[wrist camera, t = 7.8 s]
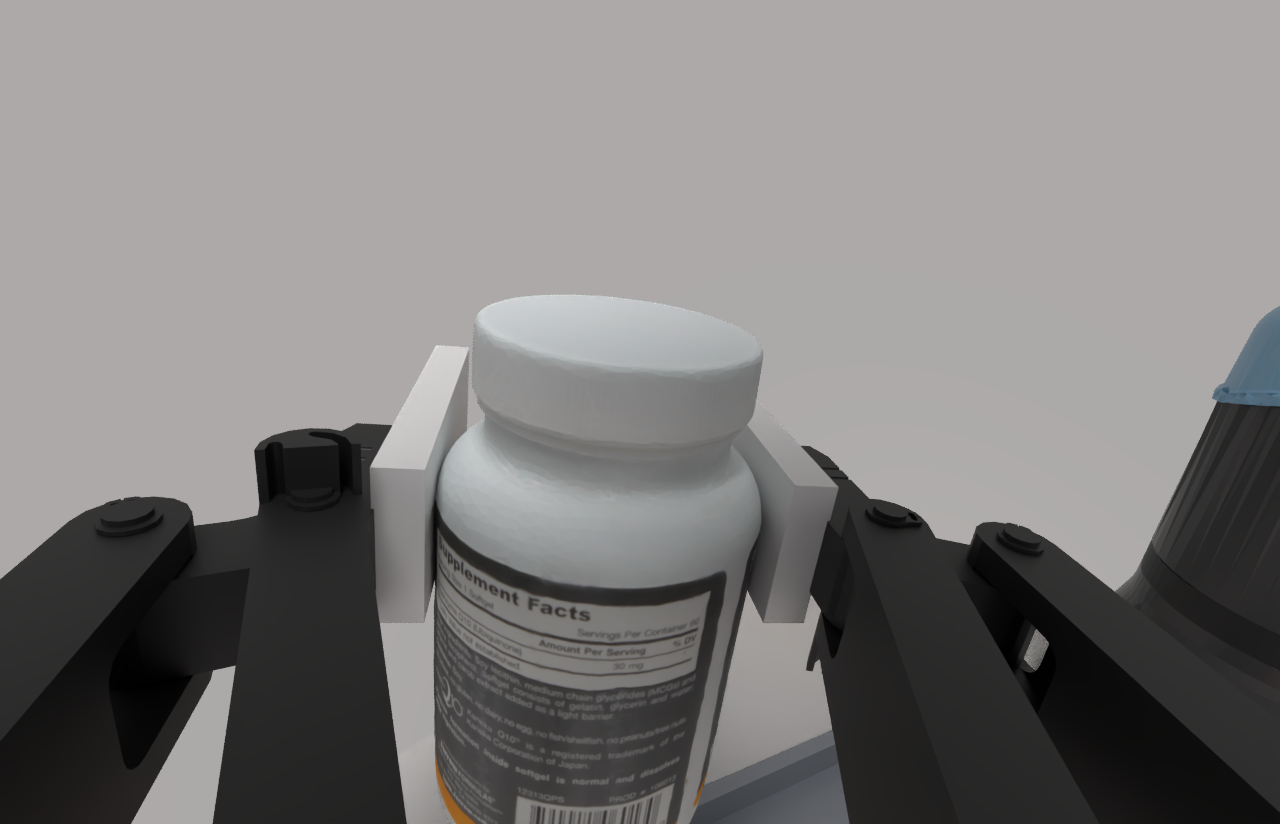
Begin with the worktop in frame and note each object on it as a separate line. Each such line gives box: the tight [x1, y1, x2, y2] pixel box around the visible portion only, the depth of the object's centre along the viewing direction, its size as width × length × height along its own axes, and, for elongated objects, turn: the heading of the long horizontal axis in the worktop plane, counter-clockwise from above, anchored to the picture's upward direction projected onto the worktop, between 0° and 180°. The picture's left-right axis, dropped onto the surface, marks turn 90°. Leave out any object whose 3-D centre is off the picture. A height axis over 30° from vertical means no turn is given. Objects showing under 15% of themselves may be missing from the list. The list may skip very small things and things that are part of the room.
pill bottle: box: [434, 295, 763, 824], centre depth 12 cm, size 6×6×10 cm
